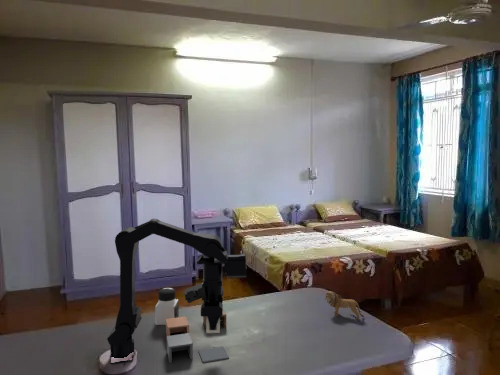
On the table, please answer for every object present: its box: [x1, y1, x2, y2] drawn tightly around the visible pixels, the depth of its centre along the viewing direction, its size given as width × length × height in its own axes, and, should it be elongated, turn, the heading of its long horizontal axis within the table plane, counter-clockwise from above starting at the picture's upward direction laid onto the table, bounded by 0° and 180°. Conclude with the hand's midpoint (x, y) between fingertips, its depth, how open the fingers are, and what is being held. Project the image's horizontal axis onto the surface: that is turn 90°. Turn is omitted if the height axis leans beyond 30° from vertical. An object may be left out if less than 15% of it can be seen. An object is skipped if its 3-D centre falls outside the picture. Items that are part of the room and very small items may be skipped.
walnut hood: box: [202, 309, 227, 329], centre depth 143 cm, size 7×7×5 cm
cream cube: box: [205, 317, 221, 334], centre depth 121 cm, size 4×4×4 cm
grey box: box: [166, 332, 194, 364], centre depth 122 cm, size 7×7×5 cm
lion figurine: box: [324, 290, 365, 320], centre depth 151 cm, size 15×5×9 cm, turn 74°
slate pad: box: [198, 346, 230, 364], centre depth 122 cm, size 8×7×1 cm
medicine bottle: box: [154, 287, 180, 326], centre depth 146 cm, size 7×7×12 cm
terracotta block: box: [165, 316, 190, 337], centre depth 134 cm, size 7×7×5 cm
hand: (212, 326), depth 121 cm, fingers closed on cream cube, 4 cm apart
